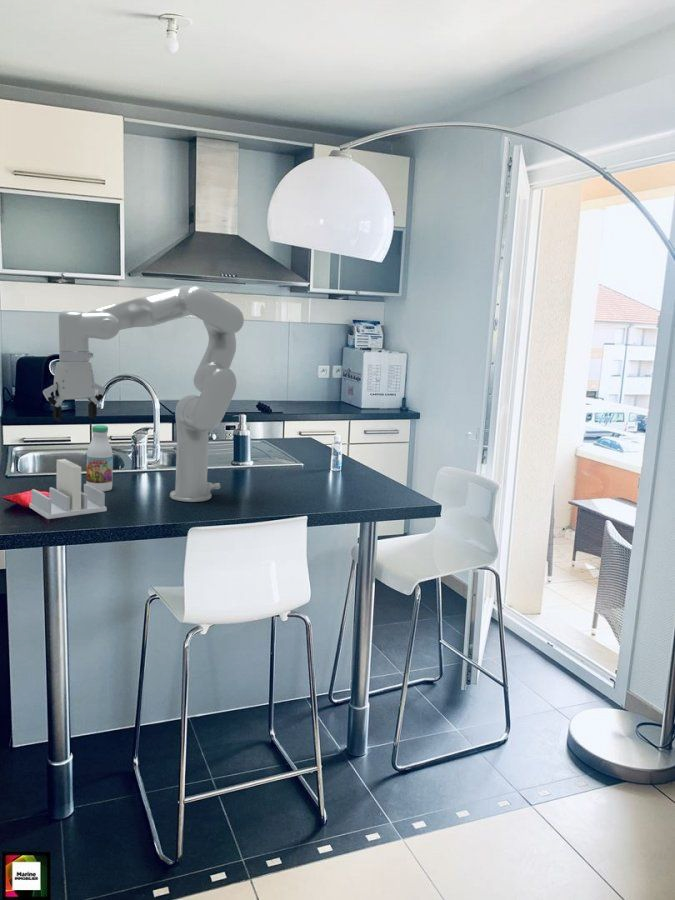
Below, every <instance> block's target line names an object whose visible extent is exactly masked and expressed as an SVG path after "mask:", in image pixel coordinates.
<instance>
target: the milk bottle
mask: <svg viewBox="0 0 675 900" xmlns="http://www.w3.org/2000/svg"><path fill="white" fill-rule="evenodd" d="M91 431H92V432H91V433H92V437H91V438H92V439H91V441H90V443H89V445H88V447H87V451H86V471H85V472H86V478H85V482H86V483H85V484H88V485H90V486H92V487H94V488H96V489H98V490H100V491H102V492H109V491H111V490H113V471H114V470H113V467H114V465H113V459H114V458H113V457H114V456H113V449H112V447H111V443H110V441H109V438H108V433H109V432H108V431H109V427H108V425H104V424H95V425H92V429H91Z"/></svg>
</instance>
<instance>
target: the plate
mask: <svg viewBox="0 0 675 900" xmlns="http://www.w3.org/2000/svg"><path fill="white" fill-rule="evenodd" d="M56 490H58V491H60V492H62V493H63V494H65V495H67V496H69V497H70V509H71V510H79V509H81V492H82V466H81V465H78V464H77V463H74V462H72V461H71V460H68V459H66V458H62V459H56Z"/></svg>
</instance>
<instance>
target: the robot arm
mask: <svg viewBox="0 0 675 900" xmlns="http://www.w3.org/2000/svg"><path fill="white" fill-rule="evenodd" d="M187 316H193V317H197V318H198V319H200V320H202V323H203V325H204V328H205V329H206V331H207V335H208V343H207V347H206V350H205V351H204V354H203V356H202V359H200V363H199V365H198V366H197V368H196V371H195V373H194V376H193V385H194V388H195V389H196V390H197V391H198V392H200V395H197V394H196V395H195V394H189V395H185V396H182V398H181V399H179V400H178V402H177V404H176V405H175V406H176V407H175V411H174V413H175V414H174V415H175V417H174V418H175V423H176V426H175V427H176V457H175V458H176V460H175V461H176V462H175V486H174V487H175V490H172V491H170V493H169V497H170V498H171V499H172V500H175V501H178V502H183V503H184V502H185V503H197V502H205V501H208V500H210V499H211V498H212V490H219V489H221V484H220V482H215V483H212V482H209V481H208V465H209V464H208V463H209V443H210V442H209V432H212V431H214V430H215V429H216V428H218V427H219V425H220V424H221V423H222V420H223V419H224V417H225V415H226V412H227V410H228V408H229V406H230V404H231V401H232V399H233V397H234V395H235V394H236V393H235V392H236V389H237V377H236V375H235V373H234V371H233V370H232V369H230V368H231V365H232V363H233V359H234V358H235V355H236V350H237V339H236V333H238V332H240V330H241V329H242V328H243V325H244V324H245V323H244V322H245V318H244V314H243V312H242V311H241V309H240V308H239V307H238V306H236V305H234V304H233V303H231V302H230V301H228V300H227V299H224V298H222V297H221V296H218V295H217V294H215V293H214V292H212V291H210V290H208V289H206V288H204V287H202V286H200V285H182V286H181V285H180V286H177V287H174V288H170V289H167V290H163V291H160V292H156V293H153V294H149V295H146V296H140V297H138V298H134V299H131V300H126V301H123V302H119V303H113V304H110V305H107V306H106V305H105V306H103V307H99V308H95V309H93V310H91V311H88V312H87V313H86V312H83V311H76V310H73V311H72V310H64V311H61V312H60V313H59V314H58V344H59V345H58V348H59V351H58V352H59V361H57V362H56V363H55V367H54V375H53V376H54V377H53V384H51V385H50V386H49V387H47V388H44V389H43V390H42V394H43V396H44V398H45V399H46V401H47V402H48V403H49V404H50V405H51V406H52V413H53V414H52V415H53V419H54V420H55V421H56V422H62V421H63V416H62V415H63V409H62V407H61V405H62V403H63V402H64V401H65V400H66V401H67V400H83V399H84V400H85V399H87V400H88V401H89V403H88V404H87V405H88V406H87V407H88V409H87V410H88V412H87V413H88V418H90V419H92V420H96V418H97V415H98V410H97V409H98V408H97V407H98V405H99V402H100V401H101V400H102V398H103V396H104V393H105V392H106V388H105V387H104V386H101V384H100V385H99V384H98V383H96V382H95V377H94V371H93V365H92V362H90V359H91V358H93V357H94V353H93V352H90V350H89V338H90V339H96V340H98V339H99V340H102V341H103V340H105V341H106V340H107V341H108V340H110V339H111V340H112V339H113V338H115V337H116V336H117V335H118V334H119V332H120V331H121V330H126V329H131V328H147V327H148V328H149V327H156V326H157V325H161V324H165V323H167V322H171V321H174V320H178V319H181V318H183V317H187ZM96 391H97V394H95V393H96ZM52 392H53V397H52V395H51V394H52Z"/></svg>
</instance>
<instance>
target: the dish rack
mask: <svg viewBox="0 0 675 900" xmlns="http://www.w3.org/2000/svg"><path fill="white" fill-rule="evenodd" d="M48 489H49V494H48V495H49V496H47V495H45V494H43V493H41V492H40V491H38V490H37V489H35V488H34V489H31V491H30V492H31V493H30V494H31V497H30V498H31V502H29V505H28V507H29V508H30V509H32V510H33V511H34V512H36V513H37V514H39V515H40V516H42V517H43V518H45V519H47V520H51V519H57V518H65V517H73V516H74V517H75V516H80V515H88V514H94V513H95V514H96V513H103V512H107V511H108V510H107V508H108V507H107V506H105V501H106V500H105V499H106V498H105V496H106V493H105V491H103V492H102V491H100V490H98V489H96V488H94V487H92V486H90V485H88V484H86V483H83V491H81V509H79V510H71V509H70V497H69V496H67V495H65V494H63V493H62V492H60V491H58V490H57V488H54V487H49V488H48Z"/></svg>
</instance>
